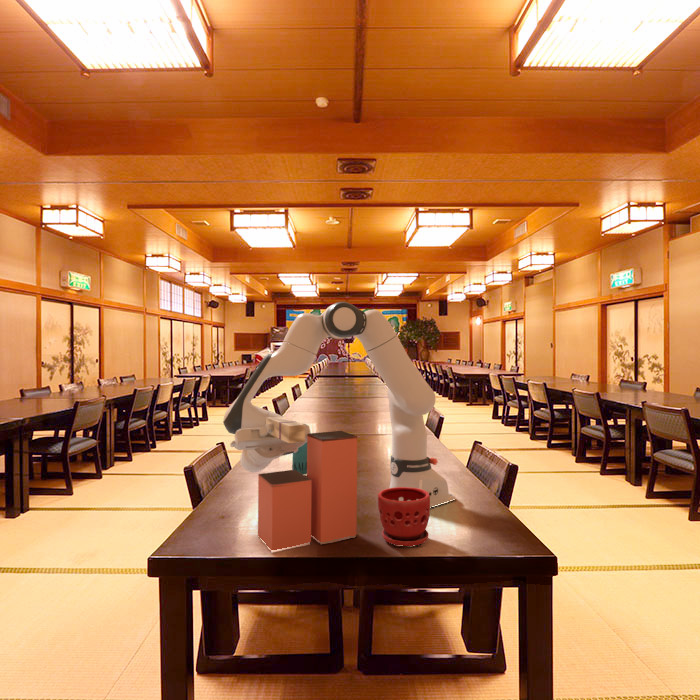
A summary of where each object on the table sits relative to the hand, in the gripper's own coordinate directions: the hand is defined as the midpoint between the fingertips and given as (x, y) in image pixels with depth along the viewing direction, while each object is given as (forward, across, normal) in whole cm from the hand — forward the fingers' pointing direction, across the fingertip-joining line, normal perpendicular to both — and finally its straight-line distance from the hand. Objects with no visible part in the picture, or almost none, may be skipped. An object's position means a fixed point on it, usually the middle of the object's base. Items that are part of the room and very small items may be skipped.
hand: (281, 425), depth 117 cm
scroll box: (+1, 0, +3) cm, 3 cm away
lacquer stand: (-11, +6, +26) cm, 29 cm away
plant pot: (0, +27, +32) cm, 43 cm away
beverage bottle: (-58, +26, 0) cm, 64 cm away
